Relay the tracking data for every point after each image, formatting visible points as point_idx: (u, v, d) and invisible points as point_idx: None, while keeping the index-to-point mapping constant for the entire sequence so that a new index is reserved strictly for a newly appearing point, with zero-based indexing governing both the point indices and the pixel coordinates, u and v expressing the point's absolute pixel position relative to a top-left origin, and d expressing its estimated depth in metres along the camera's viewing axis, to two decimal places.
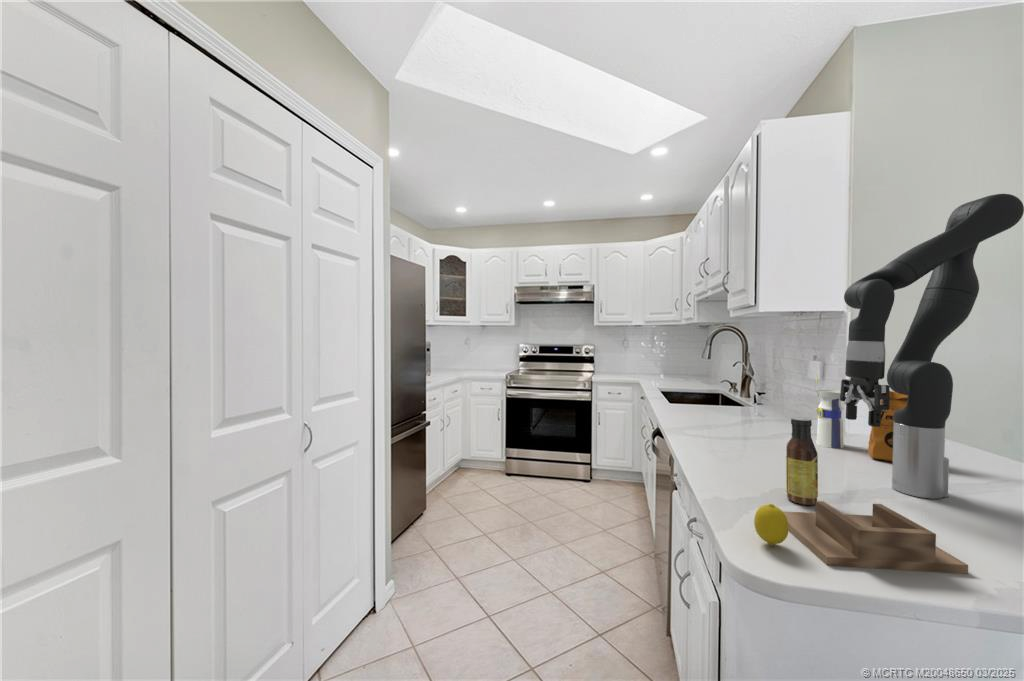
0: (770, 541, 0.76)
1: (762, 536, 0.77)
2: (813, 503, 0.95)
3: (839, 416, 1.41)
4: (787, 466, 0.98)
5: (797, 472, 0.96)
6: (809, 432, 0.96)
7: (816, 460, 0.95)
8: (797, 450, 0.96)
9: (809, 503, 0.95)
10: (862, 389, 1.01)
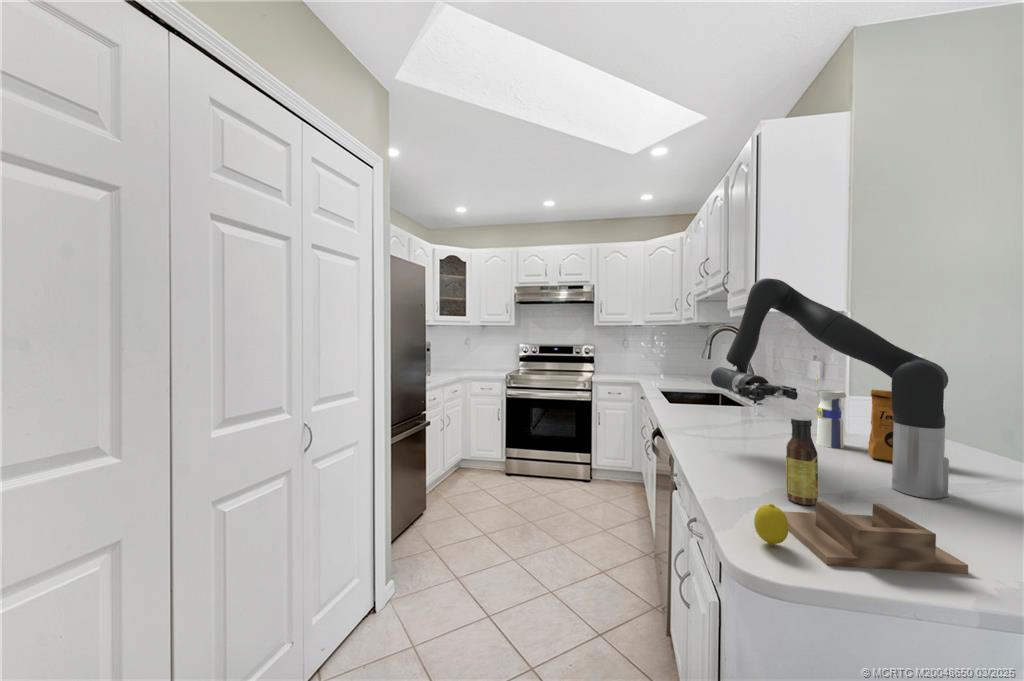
0: (770, 541, 0.76)
1: (762, 536, 0.77)
2: (813, 503, 0.95)
3: (839, 416, 1.41)
4: (787, 466, 0.98)
5: (797, 472, 0.96)
6: (809, 432, 0.96)
7: (816, 460, 0.95)
8: (797, 450, 0.96)
9: (809, 503, 0.95)
10: None
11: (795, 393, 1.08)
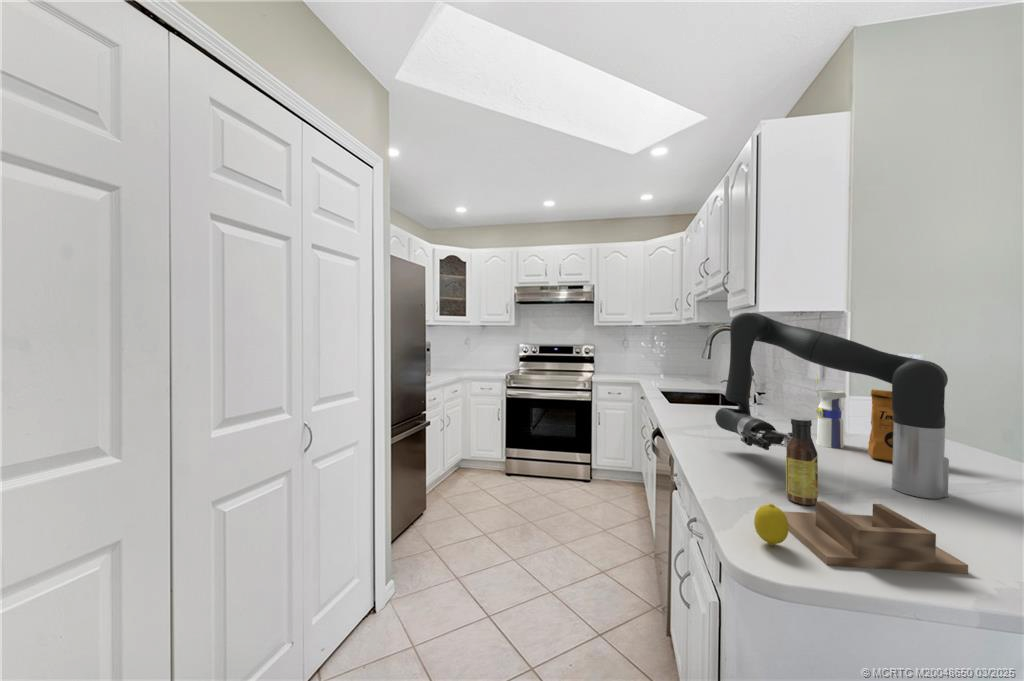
0: (770, 541, 0.76)
1: (762, 536, 0.77)
2: (813, 503, 0.95)
3: (839, 416, 1.41)
4: (787, 466, 0.98)
5: (797, 472, 0.96)
6: (809, 432, 0.96)
7: (816, 460, 0.95)
8: (797, 450, 0.96)
9: (809, 503, 0.95)
10: None
11: None
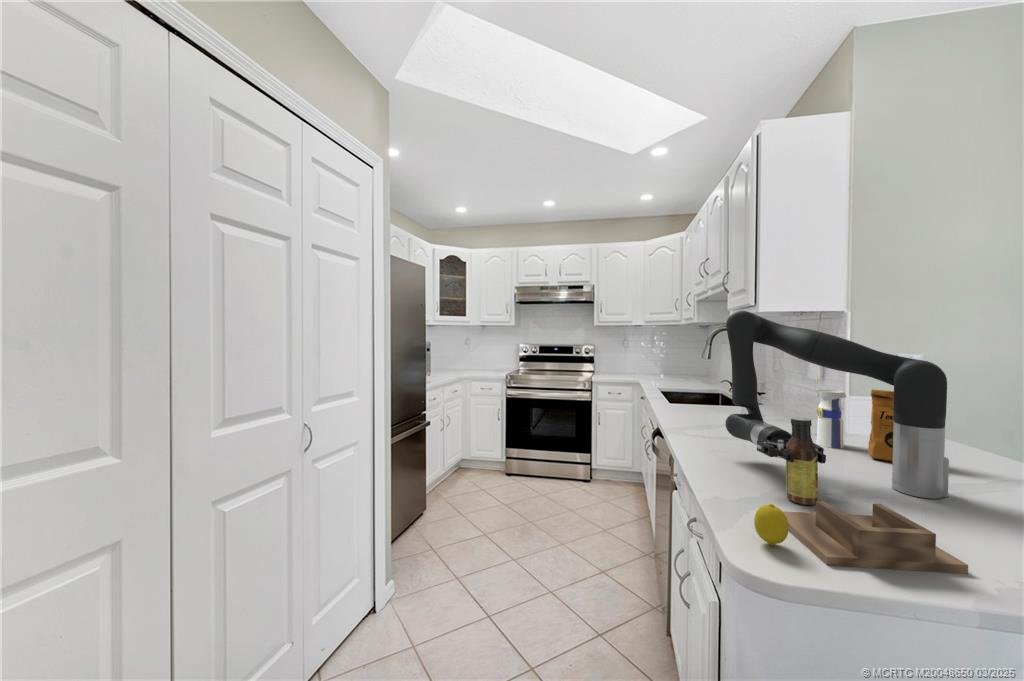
0: (770, 541, 0.76)
1: (762, 536, 0.77)
2: (813, 503, 0.95)
3: (839, 416, 1.41)
4: (787, 466, 0.98)
5: (797, 472, 0.96)
6: (809, 432, 0.96)
7: (816, 460, 0.95)
8: (797, 450, 0.96)
9: (809, 503, 0.95)
10: None
11: (823, 456, 0.95)
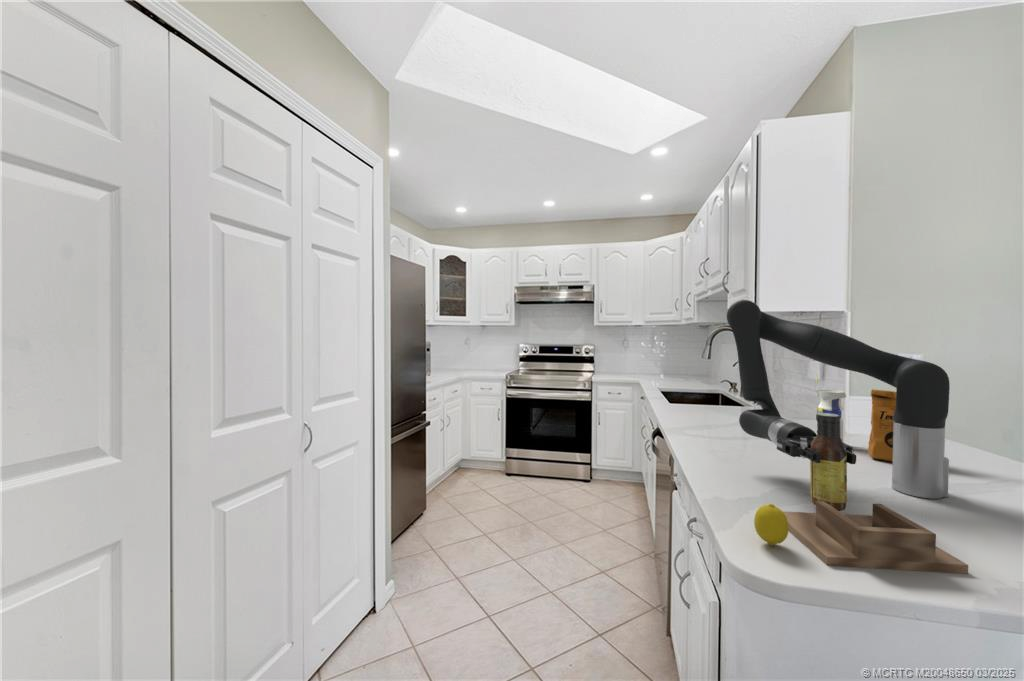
0: (770, 541, 0.76)
1: (762, 536, 0.77)
2: (842, 508, 0.85)
3: None
4: (812, 467, 0.88)
5: (824, 473, 0.86)
6: (837, 429, 0.86)
7: (845, 460, 0.85)
8: (823, 449, 0.86)
9: (837, 508, 0.85)
10: None
11: (853, 456, 0.85)
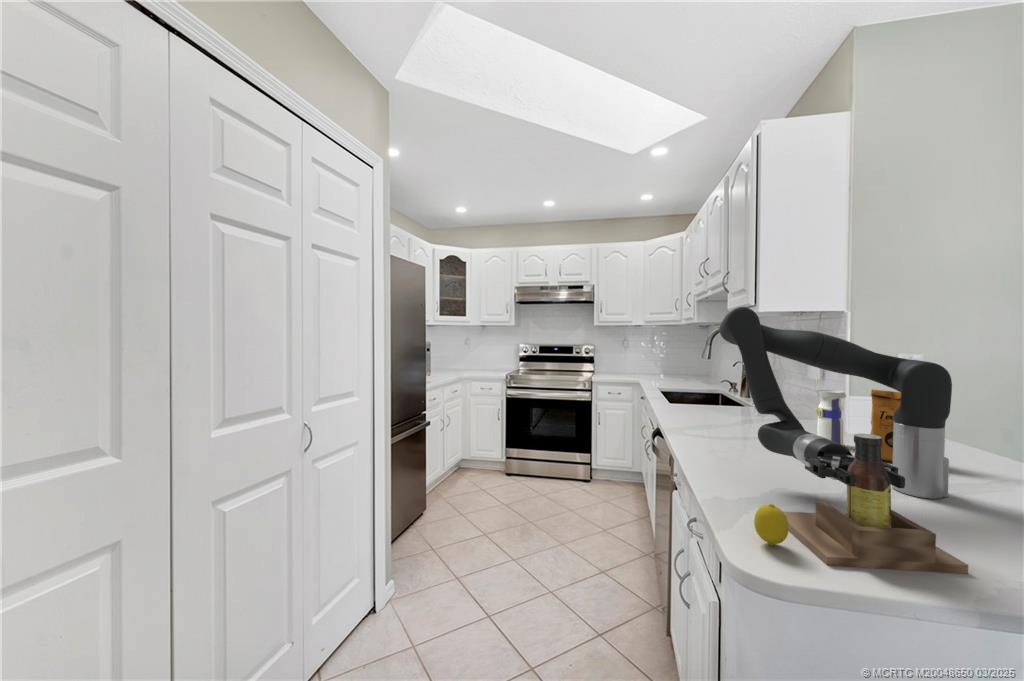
0: (770, 541, 0.76)
1: (762, 536, 0.77)
2: None
3: (839, 416, 1.41)
4: (849, 496, 0.77)
5: (865, 504, 0.74)
6: (879, 453, 0.75)
7: (889, 490, 0.74)
8: (864, 477, 0.75)
9: None
10: None
11: (902, 479, 0.74)
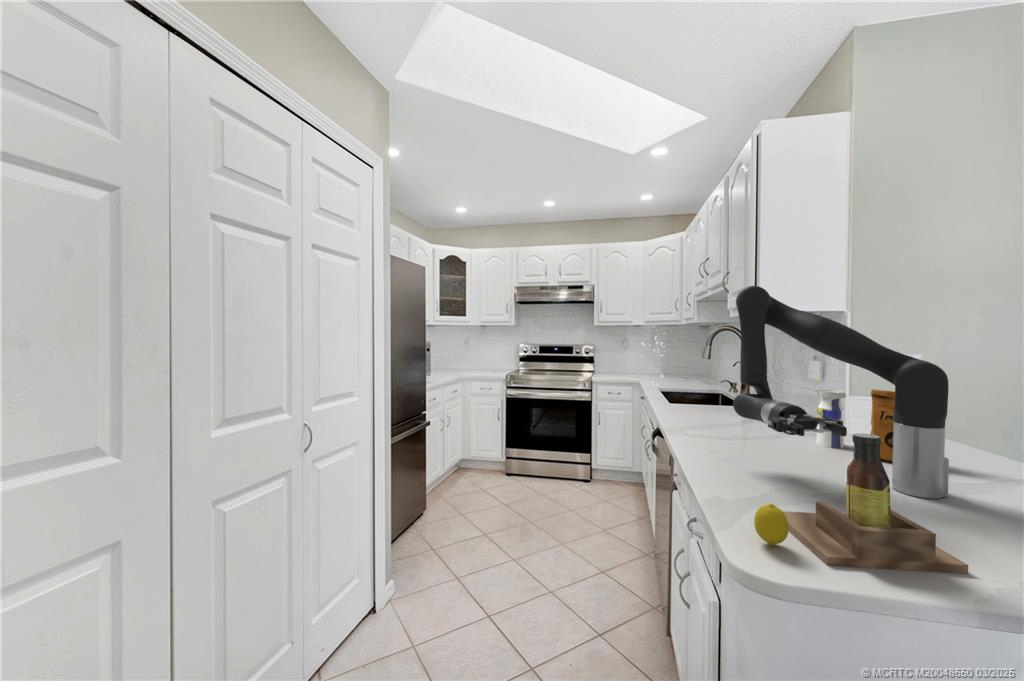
0: (770, 541, 0.76)
1: (762, 536, 0.77)
2: None
3: (839, 416, 1.41)
4: (849, 496, 0.77)
5: (864, 504, 0.75)
6: (878, 453, 0.75)
7: (888, 489, 0.74)
8: (863, 476, 0.75)
9: None
10: None
11: (844, 429, 0.89)
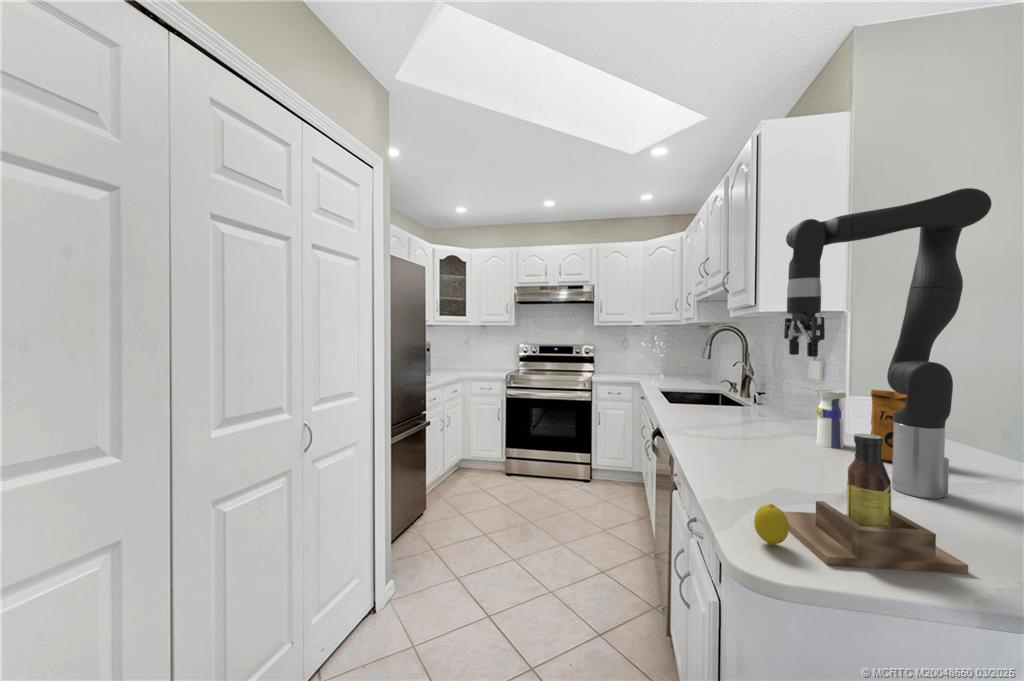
0: (770, 541, 0.76)
1: (762, 536, 0.77)
2: None
3: (839, 416, 1.41)
4: (849, 496, 0.77)
5: (865, 504, 0.74)
6: (880, 453, 0.75)
7: (889, 490, 0.74)
8: (864, 476, 0.75)
9: None
10: (801, 323, 1.08)
11: (796, 354, 1.15)
